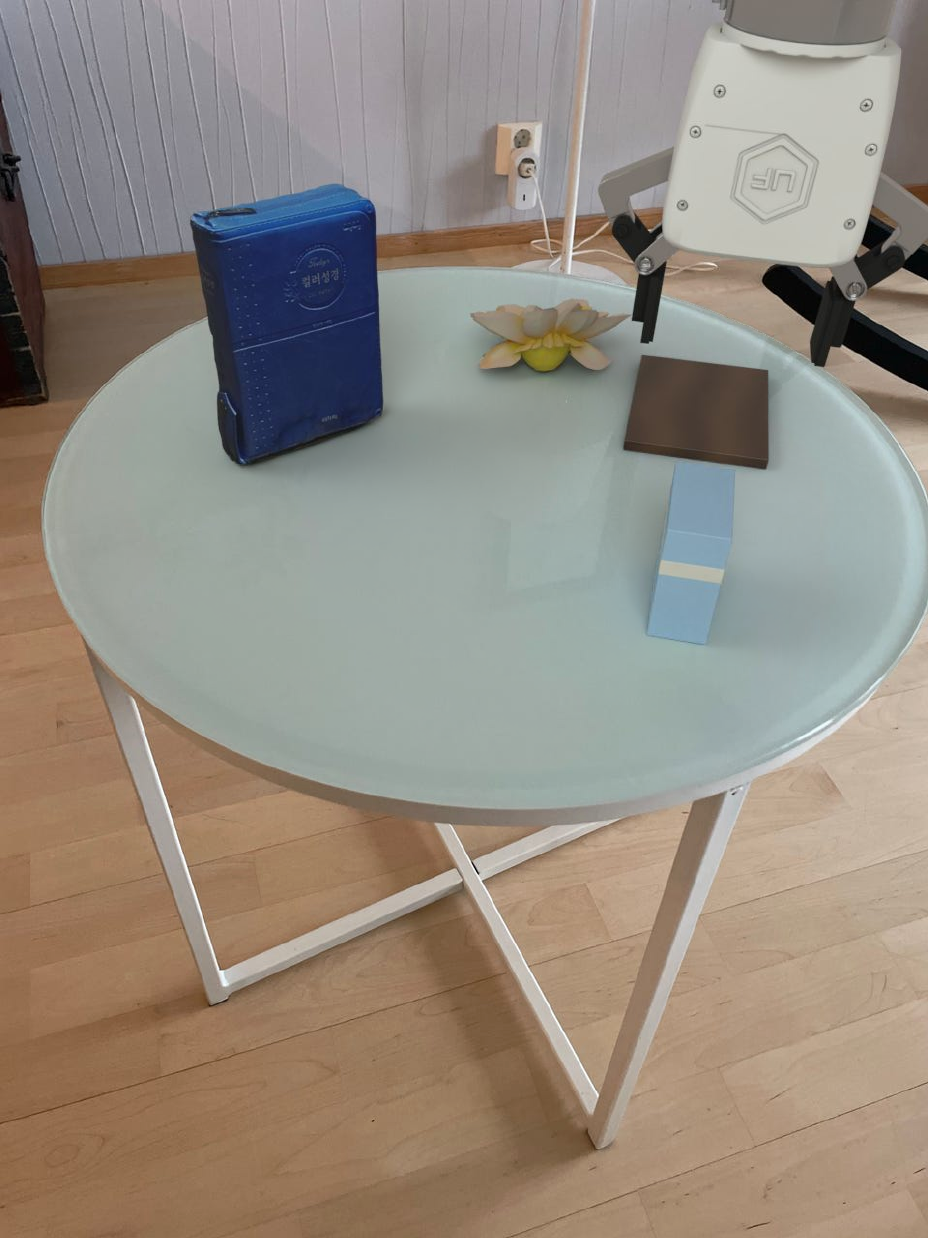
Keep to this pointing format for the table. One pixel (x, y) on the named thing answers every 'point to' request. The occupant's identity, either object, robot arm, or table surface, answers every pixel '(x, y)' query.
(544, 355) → the decorative flower
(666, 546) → the box
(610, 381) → the table surface
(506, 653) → the table surface
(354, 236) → the book
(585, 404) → the table surface
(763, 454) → the brown wooden board
